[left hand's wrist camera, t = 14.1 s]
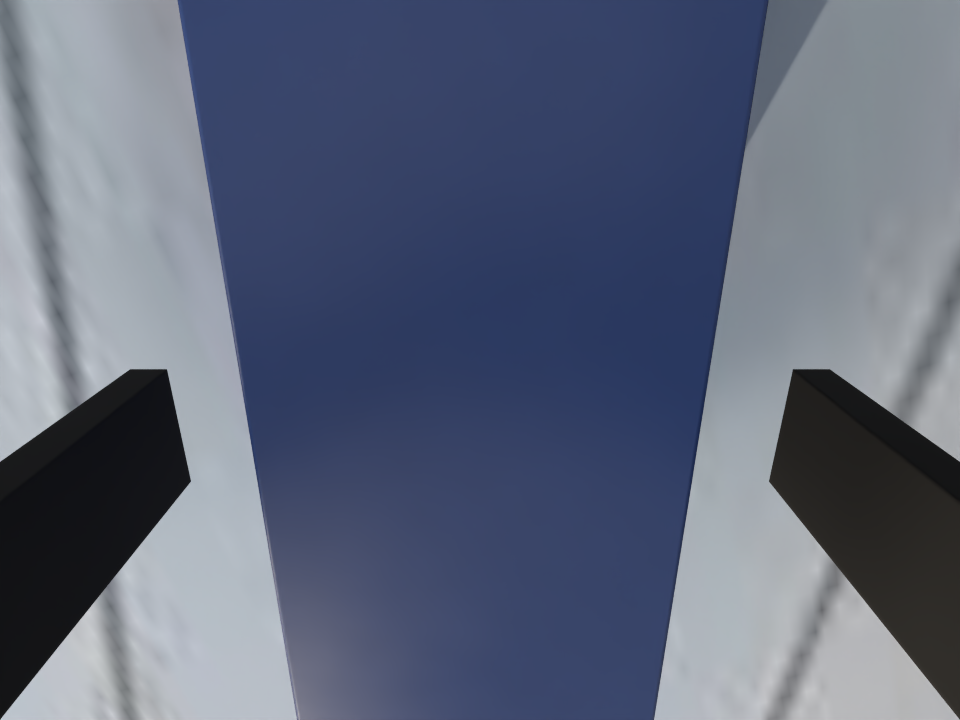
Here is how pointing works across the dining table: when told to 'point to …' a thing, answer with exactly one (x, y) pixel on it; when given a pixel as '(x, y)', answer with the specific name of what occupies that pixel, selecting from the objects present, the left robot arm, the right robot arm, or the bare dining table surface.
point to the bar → (474, 330)
